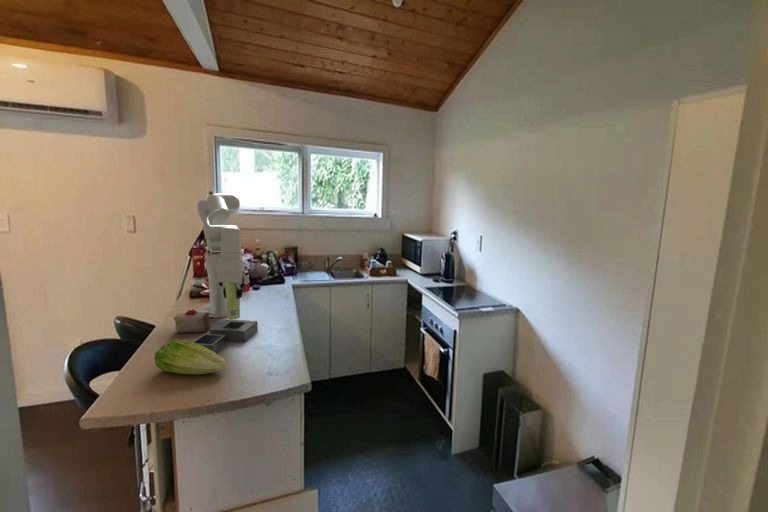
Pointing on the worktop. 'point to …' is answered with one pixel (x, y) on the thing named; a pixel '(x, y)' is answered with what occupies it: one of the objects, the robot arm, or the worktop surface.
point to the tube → (232, 301)
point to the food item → (192, 322)
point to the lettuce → (188, 358)
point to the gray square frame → (212, 341)
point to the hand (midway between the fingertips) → (233, 297)
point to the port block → (236, 330)
